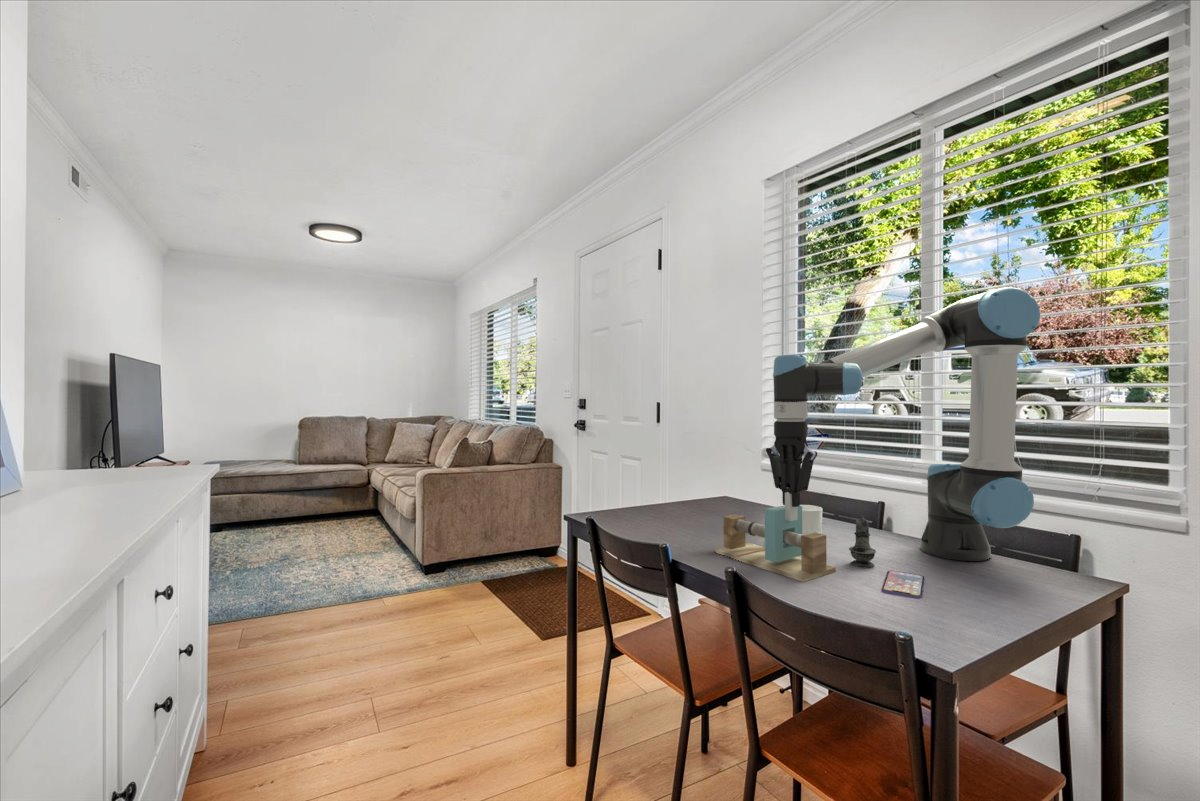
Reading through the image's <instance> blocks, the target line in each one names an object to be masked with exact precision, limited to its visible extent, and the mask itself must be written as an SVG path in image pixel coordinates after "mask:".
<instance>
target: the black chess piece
mask: <svg viewBox="0 0 1200 801" xmlns="http://www.w3.org/2000/svg"><path fill="white" fill-rule="evenodd" d="M864 517H865V516H864V515H863V514H861V515H860V518H857V519H856V520H855V532H854V533H853V534H854V535H855V543H854V545H853V546H849V548H848V550H849V551H850V555H851V557H852V558H853V559H854V560H851V562H850V565H852V566H853V567H857V568H860V569H861V568H862V569H863V568H864V569H871V568H872V569H873V568H875V567H876V564H874V563H873V562H872V560H873V559H874V558H875V554H876V553H877V550H875V549H874V548H872V547H871V545H870V536H871V533H869V532H870V529H869V528H870V526H869V521H868V520H867V519H866V518H864Z"/></svg>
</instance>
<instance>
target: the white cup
mask: <svg viewBox="0 0 1200 801" xmlns="http://www.w3.org/2000/svg"><path fill="white" fill-rule="evenodd" d="M800 506H802V535H806V534H810V533H814V532H815V533H819V534H822V528H823V507H821V506H818V505H813V504H812V505H811V504H800Z"/></svg>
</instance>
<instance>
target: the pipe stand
mask: <svg viewBox="0 0 1200 801" xmlns="http://www.w3.org/2000/svg"><path fill="white" fill-rule="evenodd" d="M746 534H748V535H749V536H752V537H760V538H764V539H765V524H761V523H758V522H756V521H747V520H746V516H745V515H741V514H736V513H735V514H729V515H726V516H723V546H721V547H717V548H714V550H713V552H714V551H715V552H718V553H721V554H724V555H727V556H729V557H732V558H734V559H733V560H735V559H736V560H735V561H738V560H739V562H741V561H742V563H744V564H748V565H750V566H754V567H756V568H759V569H763V570H766V571H768V572H771V573H776V574H779V575H781V576H783V577H788V578H789V579H792V580H793V579H794V580H797V581H800V582H802V583H803V582H807V581H810V580H813V579H816V578H820V577H823V576H826V575H829V574H833V573H836V572H837V568H836V566H833V565H829V564H827V559H828V558H827V535H826V534H823V533H821V534H819V533H815V532H814V533H810V534H806V535H802V534H798V533H794V532H790V531H786V530H783V543H786V544H789V545H793V546H797V547H801V556H798V557H794V558H790V559H787V560H783V561H779V562H772V561H769V560H766V559H765V546H761V545H758V544H755V543H751V542H748V541H746ZM729 557H728V558H729ZM732 558H731V559H732Z"/></svg>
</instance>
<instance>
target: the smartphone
mask: <svg viewBox="0 0 1200 801" xmlns="http://www.w3.org/2000/svg"><path fill="white" fill-rule="evenodd" d="M925 578H926V577H925V576H923V575H920V574H915V573H907V572H904V571H897V570H887V572H886V574H885V578H884V581H883V584H882V586H881V592H882V593H885V594H890V595H894V596H901V597H906V598H913V599H922V598H923V595H924V585H925Z"/></svg>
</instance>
